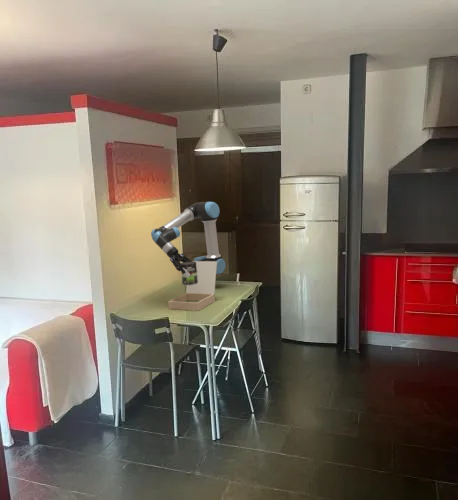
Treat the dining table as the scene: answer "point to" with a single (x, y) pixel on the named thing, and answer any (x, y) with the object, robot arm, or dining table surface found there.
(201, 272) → the mailer box
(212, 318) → the dining table surface
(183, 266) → the coffee can
